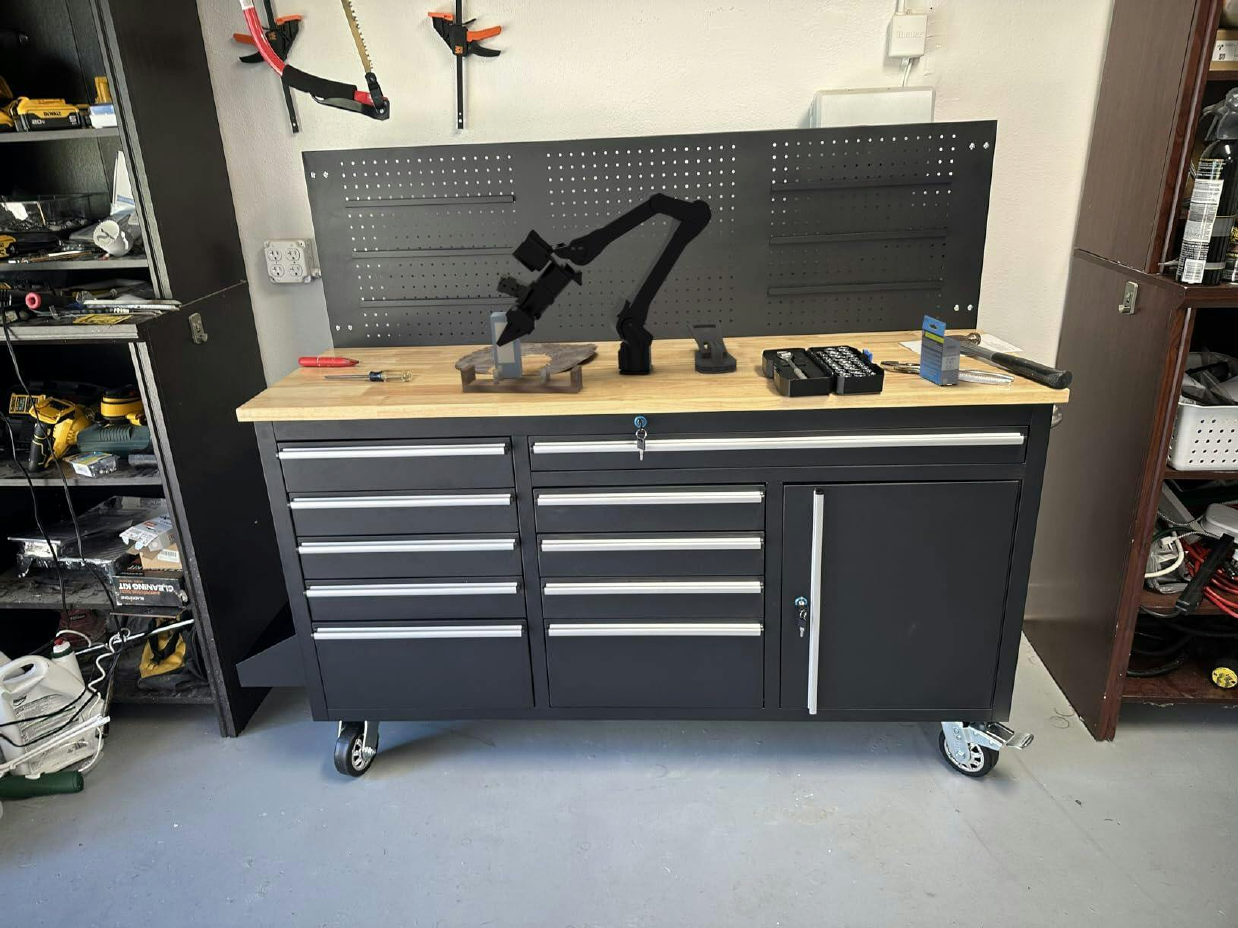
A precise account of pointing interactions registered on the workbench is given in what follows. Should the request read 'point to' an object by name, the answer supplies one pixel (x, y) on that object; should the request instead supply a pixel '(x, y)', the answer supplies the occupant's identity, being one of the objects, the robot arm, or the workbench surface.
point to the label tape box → (939, 354)
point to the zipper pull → (711, 349)
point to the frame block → (505, 348)
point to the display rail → (521, 382)
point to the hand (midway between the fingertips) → (499, 342)
